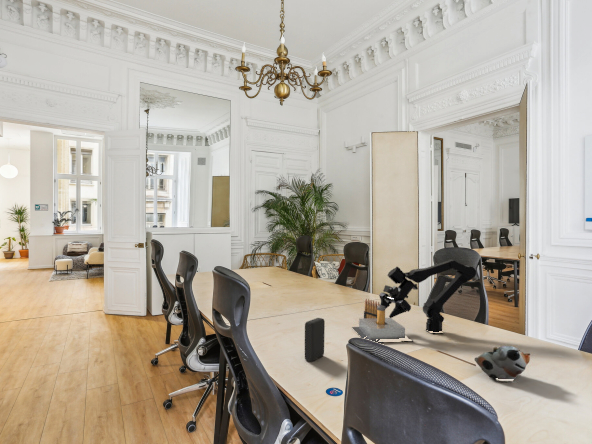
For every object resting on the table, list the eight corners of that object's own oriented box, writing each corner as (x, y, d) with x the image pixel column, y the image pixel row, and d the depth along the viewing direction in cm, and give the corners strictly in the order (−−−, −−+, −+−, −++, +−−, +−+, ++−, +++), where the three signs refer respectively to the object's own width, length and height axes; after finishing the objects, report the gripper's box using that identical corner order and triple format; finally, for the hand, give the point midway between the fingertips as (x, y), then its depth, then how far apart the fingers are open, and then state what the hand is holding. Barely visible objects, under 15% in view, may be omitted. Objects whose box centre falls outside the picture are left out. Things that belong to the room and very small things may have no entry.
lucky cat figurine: (498, 365, 128) (519, 337, 124) (521, 392, 117) (546, 362, 113) (467, 357, 124) (488, 328, 120) (487, 384, 113) (512, 353, 109)
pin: (385, 332, 163) (385, 305, 163) (384, 335, 160) (384, 307, 160) (377, 331, 165) (377, 305, 165) (376, 334, 161) (376, 306, 161)
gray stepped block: (393, 326, 174) (393, 316, 174) (413, 341, 153) (413, 329, 153) (351, 328, 172) (352, 317, 172) (366, 343, 150) (366, 331, 150)
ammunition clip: (363, 320, 186) (363, 298, 186) (365, 319, 187) (366, 298, 187) (378, 325, 177) (378, 302, 177) (381, 324, 178) (381, 301, 178)
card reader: (317, 353, 138) (317, 316, 138) (325, 355, 136) (325, 318, 136) (303, 360, 131) (303, 321, 131) (311, 363, 129) (312, 323, 129)
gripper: (382, 276, 173) (363, 299, 169) (405, 282, 156) (385, 308, 152) (395, 290, 176) (376, 314, 172) (419, 298, 158) (400, 324, 154)
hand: (384, 314), depth 163 cm, fingers open, 9 cm apart
